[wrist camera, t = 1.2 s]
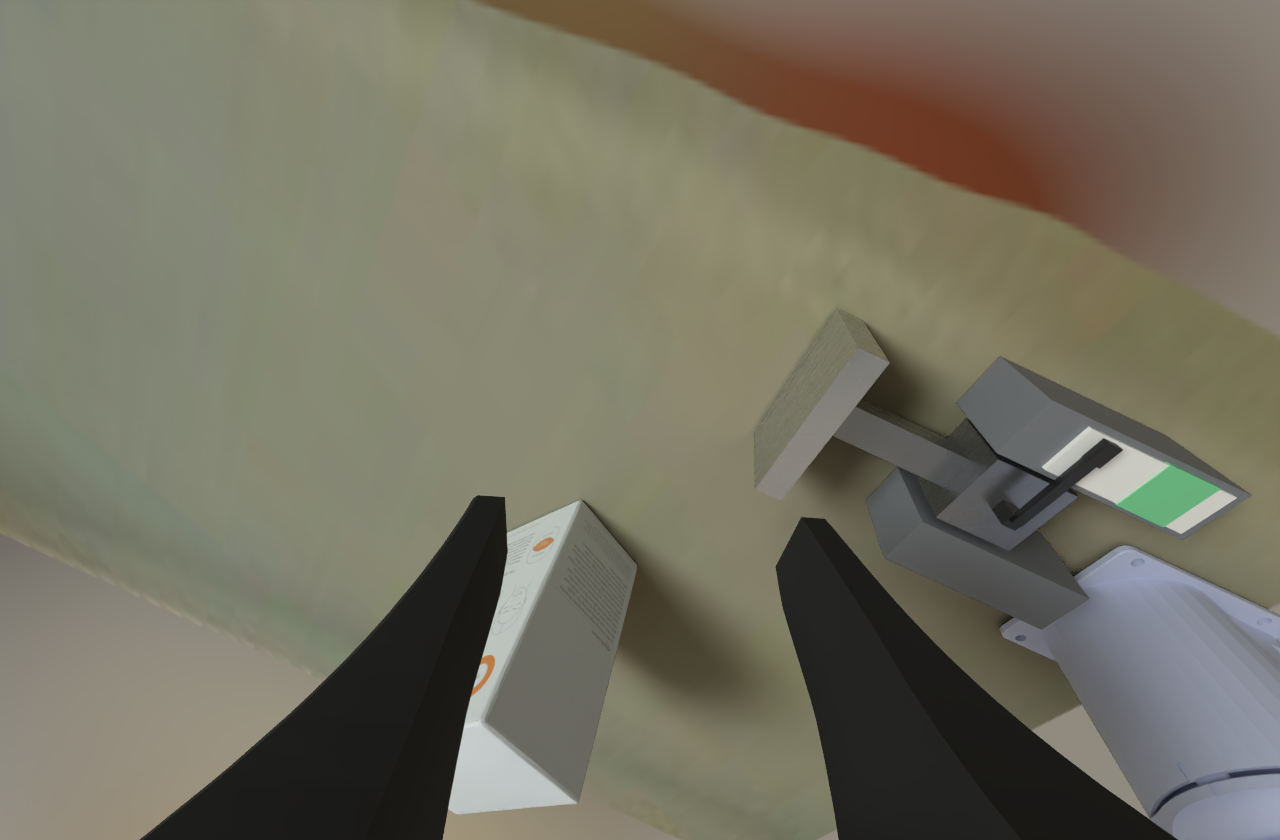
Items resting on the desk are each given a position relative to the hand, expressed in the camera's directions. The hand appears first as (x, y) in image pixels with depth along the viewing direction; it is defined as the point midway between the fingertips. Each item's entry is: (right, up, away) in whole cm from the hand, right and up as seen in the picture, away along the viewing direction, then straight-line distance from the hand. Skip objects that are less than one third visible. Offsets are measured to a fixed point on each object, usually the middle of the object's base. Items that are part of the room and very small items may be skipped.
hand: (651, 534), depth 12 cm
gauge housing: (+17, 0, +11) cm, 20 cm away
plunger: (+12, +3, +10) cm, 16 cm away
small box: (-5, -6, +20) cm, 21 cm away
